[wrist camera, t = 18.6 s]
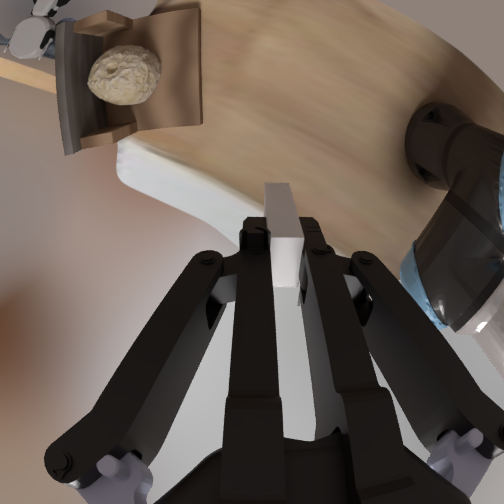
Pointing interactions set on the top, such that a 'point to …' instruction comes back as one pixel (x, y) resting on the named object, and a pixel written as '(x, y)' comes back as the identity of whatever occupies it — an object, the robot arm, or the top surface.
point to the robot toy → (35, 30)
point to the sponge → (125, 75)
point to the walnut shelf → (137, 115)
